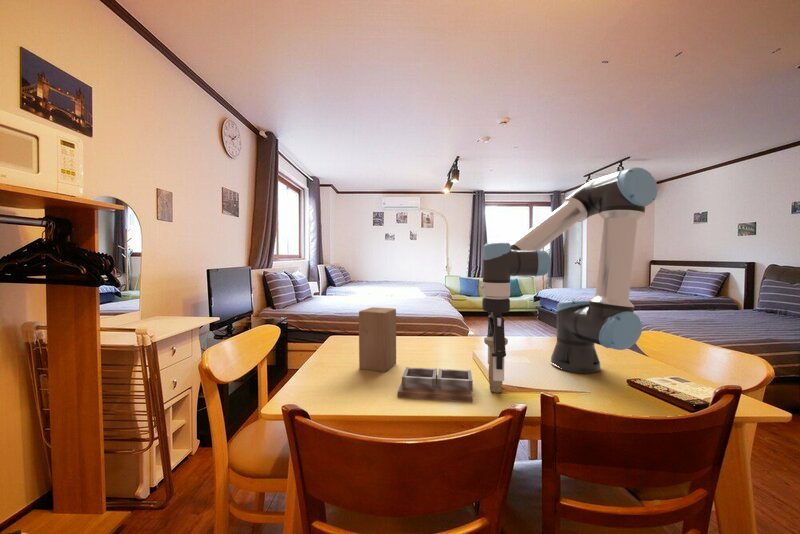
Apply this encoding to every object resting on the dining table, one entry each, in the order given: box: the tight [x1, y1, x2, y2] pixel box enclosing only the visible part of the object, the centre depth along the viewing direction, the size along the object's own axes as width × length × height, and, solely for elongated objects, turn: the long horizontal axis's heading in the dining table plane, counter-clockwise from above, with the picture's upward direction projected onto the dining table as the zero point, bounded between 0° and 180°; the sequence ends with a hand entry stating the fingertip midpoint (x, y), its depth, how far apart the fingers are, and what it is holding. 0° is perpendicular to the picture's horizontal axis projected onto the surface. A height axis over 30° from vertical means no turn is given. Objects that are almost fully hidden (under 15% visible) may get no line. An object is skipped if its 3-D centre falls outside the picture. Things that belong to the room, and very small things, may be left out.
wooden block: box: [358, 307, 397, 373], centre depth 115 cm, size 10×10×20 cm
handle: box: [483, 336, 509, 394], centre depth 93 cm, size 5×6×15 cm
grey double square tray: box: [397, 366, 474, 403], centre depth 95 cm, size 20×14×4 cm
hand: (495, 371), depth 93 cm, fingers open, 13 cm apart
